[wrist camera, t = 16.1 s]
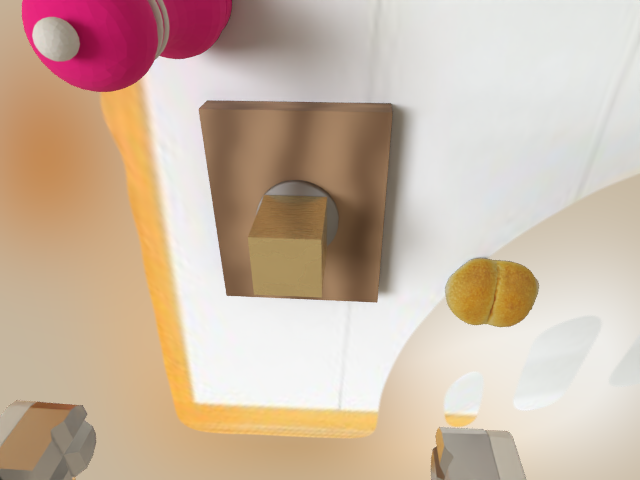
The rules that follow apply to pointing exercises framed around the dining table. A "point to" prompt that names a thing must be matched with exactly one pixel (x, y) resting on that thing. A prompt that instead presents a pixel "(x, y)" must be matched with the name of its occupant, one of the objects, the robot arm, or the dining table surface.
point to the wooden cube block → (289, 246)
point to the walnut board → (301, 182)
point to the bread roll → (491, 292)
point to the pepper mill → (119, 36)
